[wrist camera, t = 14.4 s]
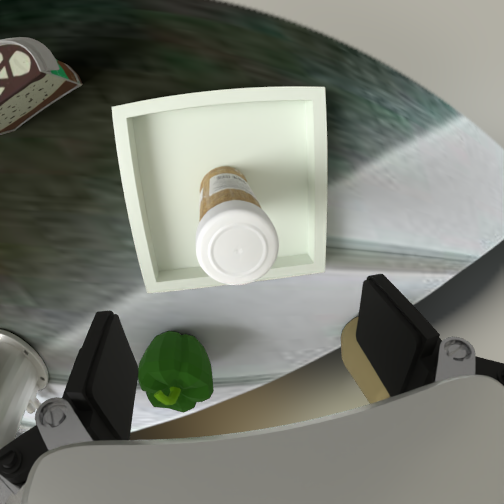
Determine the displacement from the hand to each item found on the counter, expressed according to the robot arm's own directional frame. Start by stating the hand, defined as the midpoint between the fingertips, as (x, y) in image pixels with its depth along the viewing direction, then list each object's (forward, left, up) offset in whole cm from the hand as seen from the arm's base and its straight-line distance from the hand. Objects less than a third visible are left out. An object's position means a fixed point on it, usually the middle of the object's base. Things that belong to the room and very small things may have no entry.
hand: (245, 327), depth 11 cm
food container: (+14, +18, -21) cm, 31 cm away
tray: (0, 0, -20) cm, 20 cm away
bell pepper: (-19, +8, -21) cm, 29 cm away
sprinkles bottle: (0, 0, -20) cm, 20 cm away
